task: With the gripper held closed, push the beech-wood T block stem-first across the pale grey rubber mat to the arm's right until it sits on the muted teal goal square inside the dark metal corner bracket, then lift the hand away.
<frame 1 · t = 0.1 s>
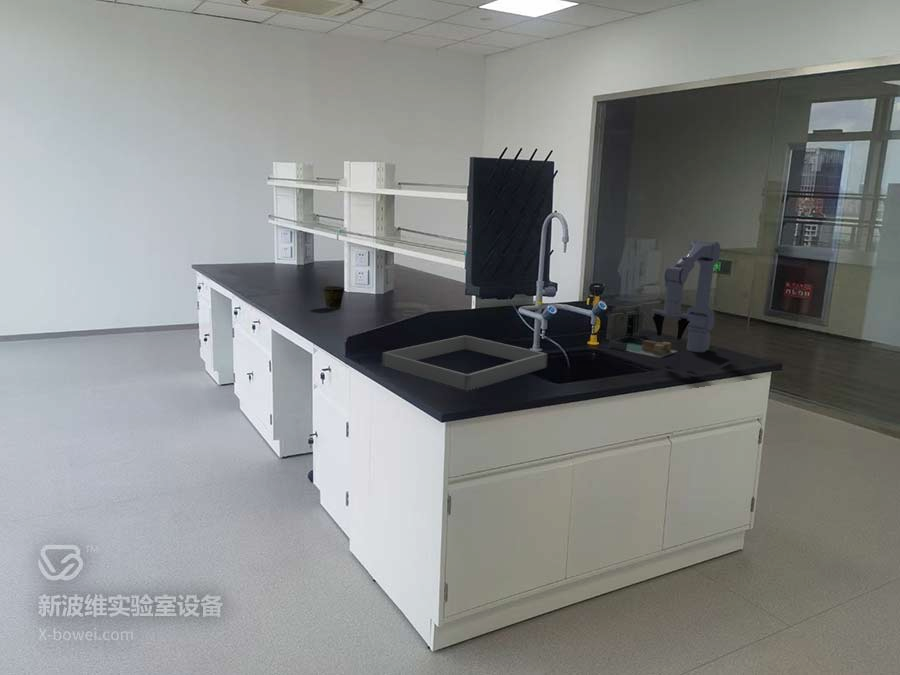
hand: (669, 337, 254), 10 cm above the countertop, fingers open, 7 cm apart
ceramic cup: (333, 309, 337), on the countertop
mat: (642, 351, 275), on the countertop
geiger counter: (626, 337, 300), on the countertop
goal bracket: (626, 342, 279), on the mat, point 2 cm above the countertop
grey square frame: (465, 367, 241), on the countertop
t block: (661, 352, 269), point 1 cm above the countertop, touching mat
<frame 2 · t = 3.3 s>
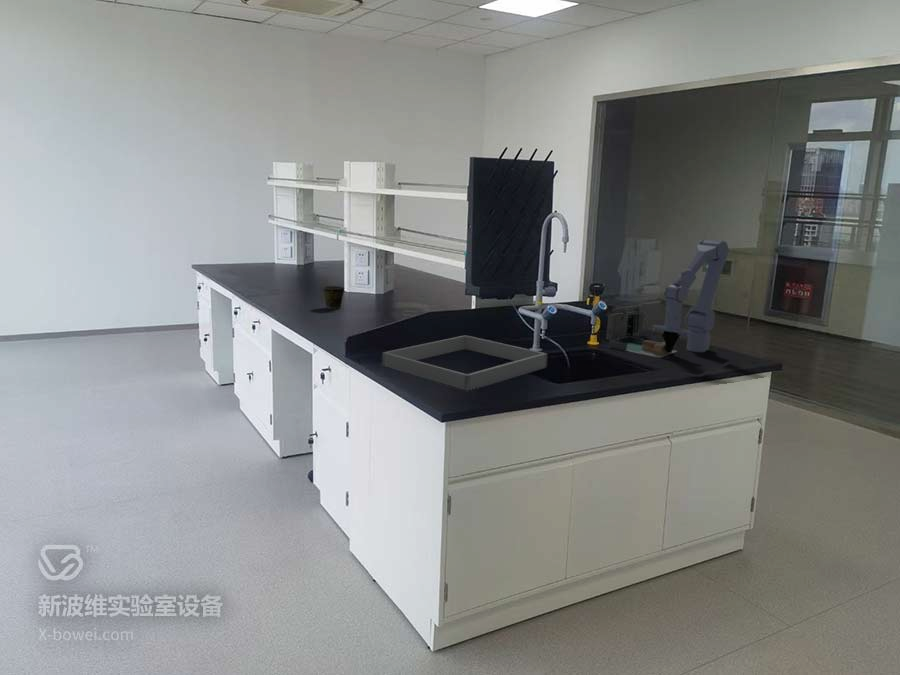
hand: (669, 351, 267), 2 cm above the countertop, fingers closed
t block: (661, 352, 269), point 1 cm above the countertop, touching gripper, mat
everything else where it was.
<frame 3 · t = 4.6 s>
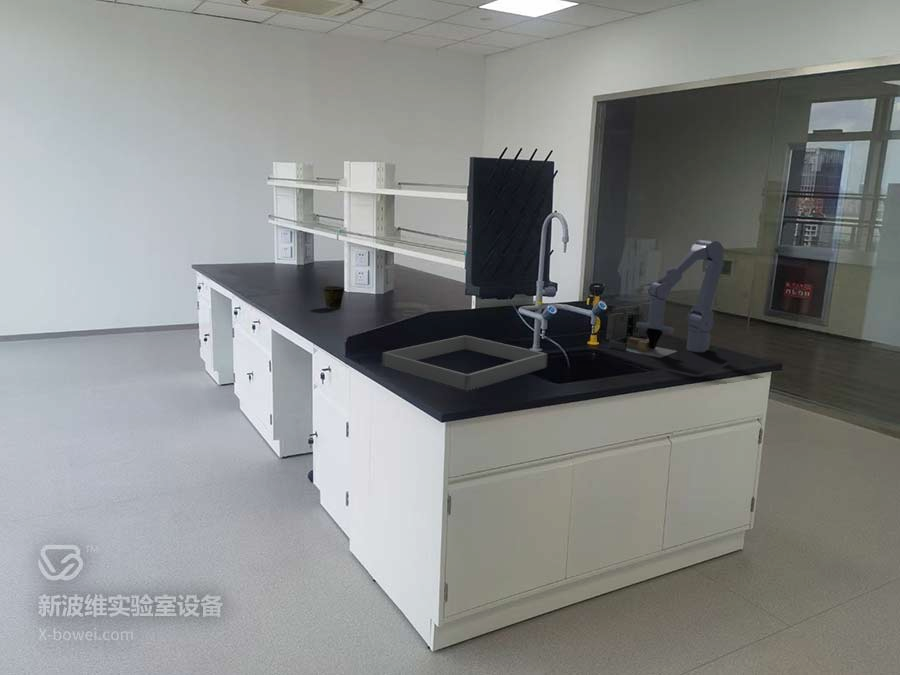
hand: (652, 348, 271), 2 cm above the countertop, fingers closed
t block: (645, 349, 273), point 1 cm above the countertop, touching gripper, mat
everything else where it was.
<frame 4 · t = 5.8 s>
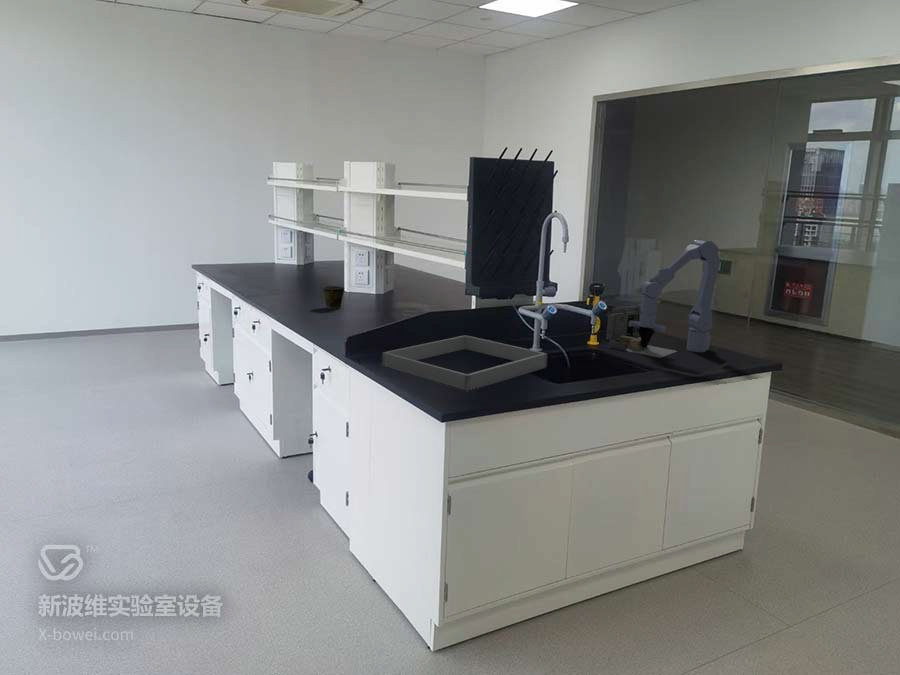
hand: (644, 346, 274), 2 cm above the countertop, fingers closed
t block: (638, 348, 276), point 1 cm above the countertop, touching gripper, mat
everything else where it was.
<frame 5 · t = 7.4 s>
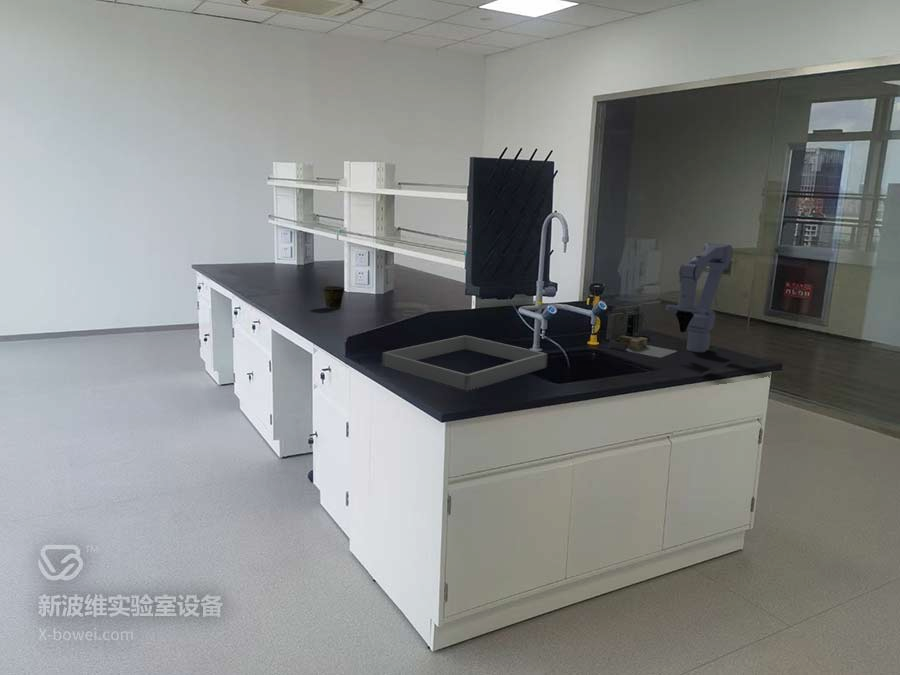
hand: (682, 331, 264), 10 cm above the countertop, fingers closed
t block: (638, 348, 276), point 1 cm above the countertop, touching mat
everything else where it was.
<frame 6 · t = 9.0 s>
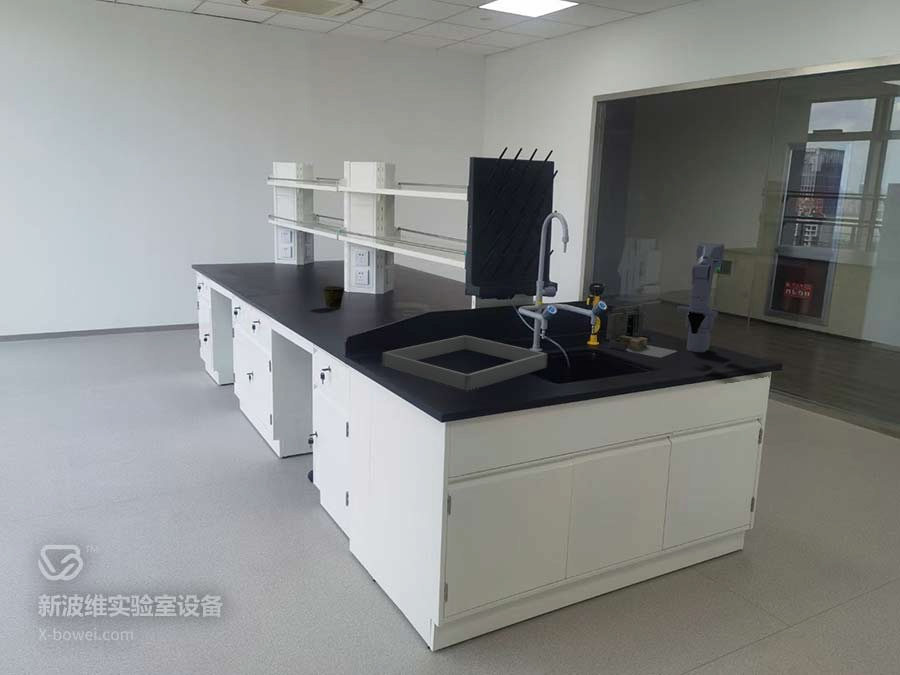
hand: (694, 333, 261), 10 cm above the countertop, fingers closed
nothing on the countertop moved.
at the end: t block inside the target area (0.3 cm from its centre), point 1.0 cm above the countertop; t block tilted 0° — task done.
